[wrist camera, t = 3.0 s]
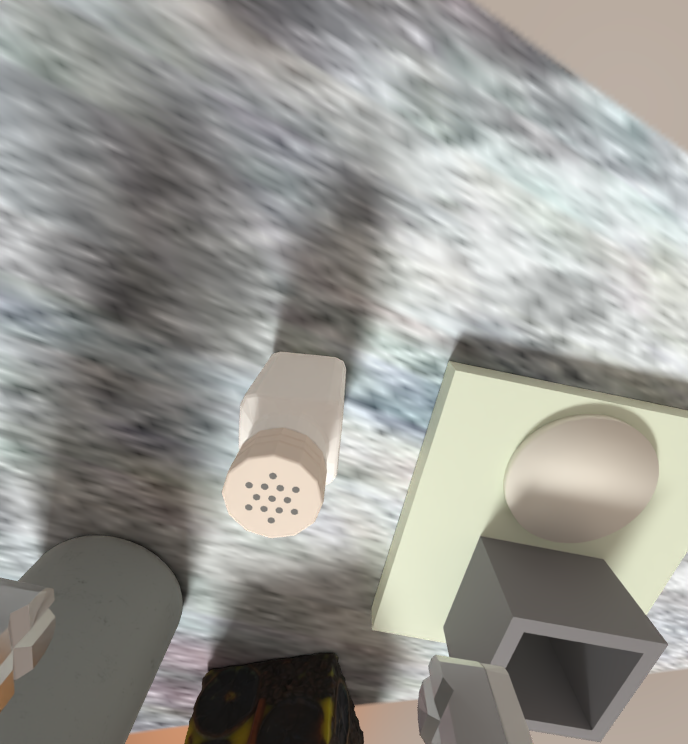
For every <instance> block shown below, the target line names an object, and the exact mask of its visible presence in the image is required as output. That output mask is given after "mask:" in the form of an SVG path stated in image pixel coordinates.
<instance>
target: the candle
mask: <svg viewBox="0 0 688 744" xmlns="http://www.w3.org/2000/svg"><path fill="white" fill-rule="evenodd" d="M354 707H355V706H354V704H353V702H352V700H351V697H350V695H349V693H348V690H347V687H346V685H345V678H344V677H343V675H342V674H341V669H340V666H339V663H338V657H337V656H336V654H333V653H319V654H314V655H304V656H299V657H295V658H284V659H278V660H272V661H266V662H262V663H252V664H248V665H243V666H229V667H226V668H221V669H212V670H211V671H209V672H208V673H206V675H205V677H204V678H203V680H202V691H201V692H200V694H199V696H198V697H197V700H196V703H195V705H194V708H193V709H194V712H193V715H192V717H191V719H190V721H189V728H188V732H187V735H186V739H185V744H364V737H363V731H362V730H361V729H360V726H359V720H358V718H357V717H356V714H355V711H354Z"/></svg>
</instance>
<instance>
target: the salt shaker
mask: <svg viewBox="0 0 688 744" xmlns="http://www.w3.org/2000/svg"><path fill="white" fill-rule="evenodd" d="M345 379H346V367H345V364H344V361H342V360H340V359H338V358H337V357H330V356H320V355H310V354H300V353H290V352H278V353H274V354H272V355H271V357H270V358H269V360H268V361H267V363H266V364H265V366H264V367H263V369H262V370H261V372H260V373H259V375H258V376H257V378H256V379H255V381H254V382H253V384H252V385H251V387H250V388H249V390H248V391H247V393H246V394H245V396H244V398H243V400H242V402H241V405H240V420H239V452H238V454H237V456H236V458H235V459H234V461H233V463H232V465H231V467H230V469H229V471H228V474H227V477H226V480H225V483H224V486H223V490H222V495H223V498H224V501H225V504H226V507H227V510H228V513H229V515H230V516H231V517H232V518H233V519H234V520H235V521H237V522H238V523H239V524H240V525H241V526H242V527H243V528H244V529H245V530H246V531H249V532H253V533H256V534H259V535H262V536H265V537H269V538H276V537H285V536H293V535H296V534H298V533H299V532H301V531H302V530H304V529H305V528H307V527H308V526H310V525H311V524H313V523H314V522H315V520H316V518H317V516H318V513H319V511H320V509H321V506H322V504H323V501H324V492H325V485H327V484H329V483H331V482H332V481H333V480H334V478H335V477H336V476H337V469H338V460H339V450H340V441H341V431H342V421H343V409H344V394H345Z"/></svg>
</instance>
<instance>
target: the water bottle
mask: <svg viewBox="0 0 688 744" xmlns="http://www.w3.org/2000/svg"><path fill="white" fill-rule="evenodd" d="M18 581H19V582H24V583H29V584H34V585H39V586H44V587H49V588H53V589H54V598H55V601H54V602H53V603H52V604H51V606H50V607H49V609H50V610H51V612H52V613H53V614H54V615H55V618H56V626H55V630H54V634H53V638H52V640H51V642H50V644H49V646H48V648H47V650H46V652H45V654H44V655H43V656H42V658H41V659H40V661H39V662H38V663H37V665H36V666H35V667H34V669H33V670H31V671H29V672H28V673H26V674H25V675H23V676H21V677H20V678H18V679H17V680H16V684H15V694H14V695H13V696H12V698H11V699H10V700H9V702H8V703H7V704H6V706H5V707H4V708H3V710H2V711H1V712H0V744H125V742H126V740H127V738H128V735H129V733H130V731H131V729H132V727H133V724H134V722H135V720H136V718H137V715H138V713H139V711H140V709H141V707H142V704H143V702H144V700H145V698H146V695H147V693H148V691H149V689H150V687H151V684H152V682H153V680H154V678H155V675H156V673H157V671H158V669H159V667H160V664H161V662H162V660H163V658H164V655H165V653H166V651H167V649H168V647H169V644H170V642H171V640H172V638H173V635H174V633H175V631H176V629H177V627H178V624H179V621H180V618H181V614H182V604H183V599H182V594H181V590H180V586H179V583H178V581H177V579H176V577H175V575H174V574H173V572H172V571H171V570H170V569H169V567H168V566H167V565H166V564H165V563H164V562H163V561H162V560H161V559H160V558H159V557H157V556H156V555H155V554H153V553H152V552H150V551H149V550H147V549H146V548H144V547H142V546H140V545H137V544H135V543H133V542H131V541H128V540H124V539H121V538H117V537H111V536H104V535H88V536H82V537H77V538H73V539H70V540H67V541H65V542H62V543H60V544H58V545H56V546H55V547H53V548H52V549H50V550H49V551H48V552H46V553H45V554H44V555H43V556H42V557H41V558H40V559H39V560H38V561H37V562H36V563H35V564H34V565H33V566H32V567H31V568H30V569H29V570H28V571H27V572H26V573H25V574H24V575H23V576H22V577H21V578H20V579H19V580H18Z"/></svg>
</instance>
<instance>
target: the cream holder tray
mask: <svg viewBox="0 0 688 744" xmlns="http://www.w3.org/2000/svg"><path fill="white" fill-rule="evenodd" d="M687 551H688V410H684V409H679V408H674V407H669V406H664V405H659V404H655V403H650V402H645V401H640V400H635V399H631V398H626V397H621V396H616V395H611V394H606V393H602V392H597V391H592V390H587V389H582V388H578V387H573V386H568V385H563V384H558V383H553V382H549V381H544V380H539V379H534V378H529V377H524V376H520V375H515V374H510V373H505V372H500V371H496V370H491V369H486V368H481V367H476V366H471V365H467V364H462V363H457V362H452V361H449V362H448V365H447V368H446V371H445V374H444V378H443V381H442V384H441V387H440V390H439V394H438V397H437V400H436V403H435V406H434V410H433V413H432V416H431V419H430V422H429V426H428V429H427V432H426V435H425V438H424V442H423V445H422V448H421V451H420V454H419V457H418V461H417V464H416V467H415V470H414V473H413V477H412V480H411V483H410V486H409V489H408V493H407V496H406V499H405V502H404V505H403V509H402V512H401V515H400V518H399V521H398V525H397V528H396V531H395V534H394V537H393V541H392V544H391V547H390V550H389V553H388V556H387V560H386V563H385V566H384V569H383V572H382V576H381V579H380V582H379V585H378V588H377V592H376V595H375V598H374V601H373V604H372V608H371V619H372V630H374V631H380V632H386V633H391V634H397V635H403V636H409V637H414V638H420V639H426V640H431V641H437V642H443V643H447V648H448V652H449V657H452V658H458V659H464V660H471V661H477V662H479V663H484V664H490V665H497V666H501V667H504V668H505V669H506V671H507V672H508V674H509V676H510V679H511V682H512V685H513V688H514V690H515V693H516V696H517V699H518V701H519V704H520V707H521V710H522V713H523V715H524V718H525V721H526V724H527V726H528V729H529V731H535V732H542V733H547V734H553V735H560V736H565V737H571V738H577V739H583V740H589V741H595V742H601V741H602V739H603V738H604V737H605V735H606V733H607V732H608V731H609V729H610V728H611V726H612V725H613V723H614V722H615V721H616V719H617V718H618V716H619V715H620V713H621V712H622V711H623V709H624V708H625V706H626V705H627V703H628V702H629V700H630V699H631V698H632V696H633V695H634V693H635V691H636V690H637V689H638V688H639V686H640V685H641V683H642V682H643V680H644V679H645V677H646V676H647V675H648V673H649V672H650V670H651V669H652V667H653V666H654V664H655V663H656V662H657V660H658V659H659V657H660V656H661V654H662V653H663V651H664V650H665V649H666V647H667V646H668V644H667V642H666V641H665V640H664V638H663V637H662V636H661V634H660V633H659V632H658V630H657V629H656V628H655V626H654V625H653V624H652V622H651V621H650V620H649V618H648V617H647V616H646V615H647V613H648V612H649V610H650V609H651V607H652V606H653V604H654V602H655V601H656V599H657V598H658V596H659V595H660V593H661V592H662V590H663V588H664V587H665V585H666V584H667V582H668V581H669V579H670V578H671V576H672V574H673V573H674V571H675V570H676V568H677V567H678V565H679V564H680V562H681V560H682V559H683V557H684V556H685V554H686V553H687Z"/></svg>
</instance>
